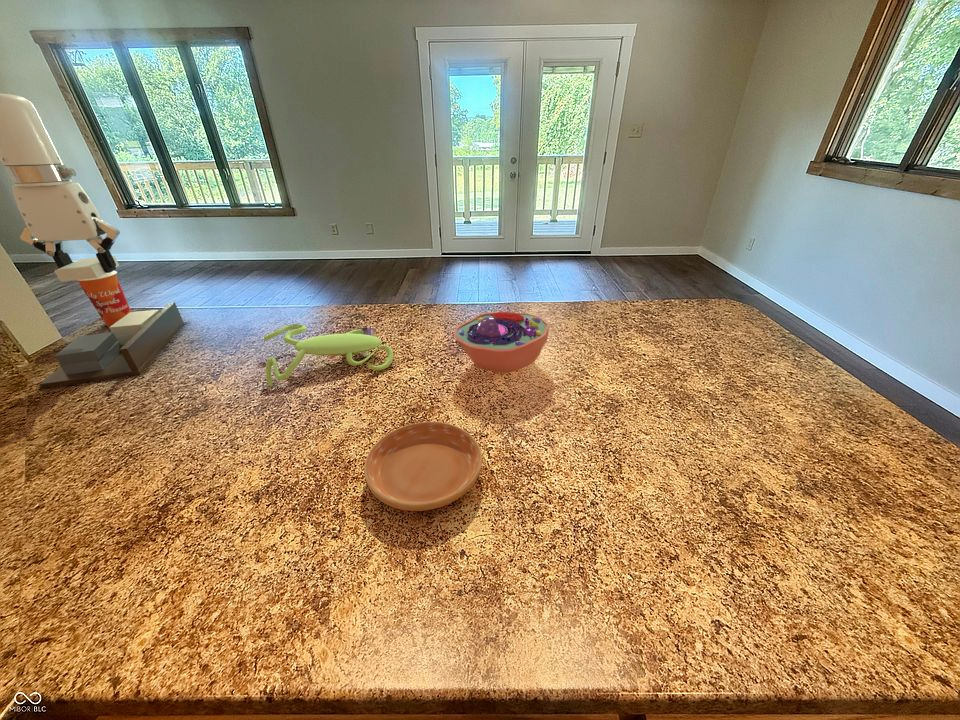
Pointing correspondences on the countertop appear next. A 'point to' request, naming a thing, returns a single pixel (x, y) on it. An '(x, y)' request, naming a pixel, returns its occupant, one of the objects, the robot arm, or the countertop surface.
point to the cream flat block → (82, 270)
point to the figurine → (328, 348)
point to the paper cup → (106, 297)
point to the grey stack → (89, 353)
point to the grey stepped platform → (129, 351)
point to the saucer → (423, 466)
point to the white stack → (131, 324)
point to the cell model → (502, 340)
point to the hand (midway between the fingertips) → (91, 271)
